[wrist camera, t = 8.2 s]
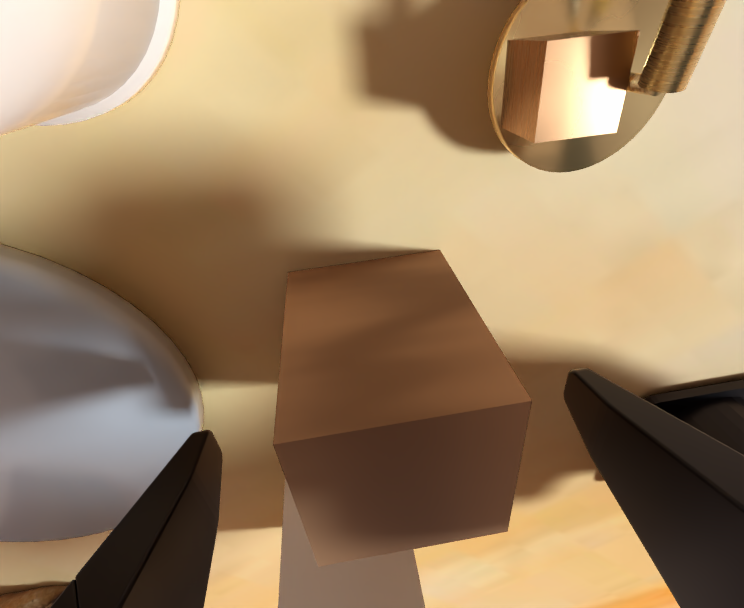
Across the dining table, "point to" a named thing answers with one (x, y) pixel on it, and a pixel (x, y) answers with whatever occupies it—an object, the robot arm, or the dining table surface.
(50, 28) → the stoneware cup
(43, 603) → the bread roll
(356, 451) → the walnut block
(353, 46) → the dining table surface
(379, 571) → the beige block
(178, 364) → the dish
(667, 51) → the balance
